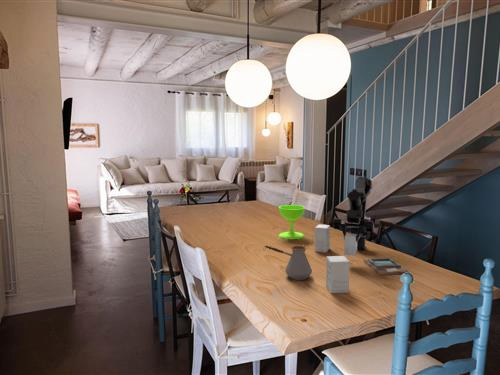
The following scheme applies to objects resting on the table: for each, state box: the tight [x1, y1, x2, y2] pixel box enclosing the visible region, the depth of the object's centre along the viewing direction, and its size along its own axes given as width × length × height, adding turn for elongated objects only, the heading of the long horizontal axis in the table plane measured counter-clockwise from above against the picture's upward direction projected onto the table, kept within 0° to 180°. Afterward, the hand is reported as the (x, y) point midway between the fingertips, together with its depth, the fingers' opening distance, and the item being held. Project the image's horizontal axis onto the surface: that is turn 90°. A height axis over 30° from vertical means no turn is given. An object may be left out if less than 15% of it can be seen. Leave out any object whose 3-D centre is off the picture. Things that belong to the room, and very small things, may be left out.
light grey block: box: [343, 232, 358, 257], centre depth 180 cm, size 5×5×9 cm
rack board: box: [363, 257, 409, 276], centre depth 177 cm, size 18×13×2 cm
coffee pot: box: [263, 245, 313, 281], centre depth 164 cm, size 21×12×15 cm, turn 104°
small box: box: [314, 223, 331, 253], centre depth 206 cm, size 8×6×13 cm
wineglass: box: [278, 204, 306, 240], centre depth 235 cm, size 16×16×18 cm
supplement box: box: [325, 255, 350, 294], centre depth 151 cm, size 7×7×13 cm
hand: (350, 240), depth 179 cm, fingers closed on light grey block, 5 cm apart
